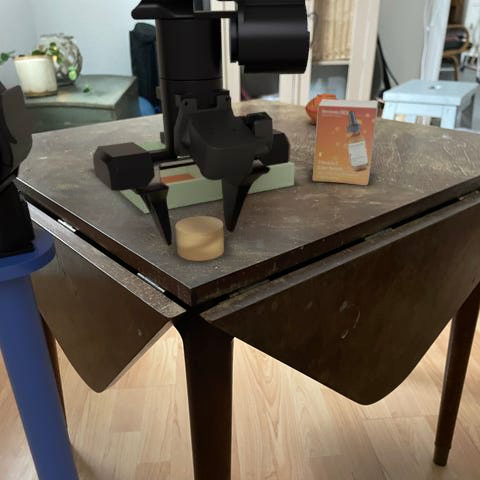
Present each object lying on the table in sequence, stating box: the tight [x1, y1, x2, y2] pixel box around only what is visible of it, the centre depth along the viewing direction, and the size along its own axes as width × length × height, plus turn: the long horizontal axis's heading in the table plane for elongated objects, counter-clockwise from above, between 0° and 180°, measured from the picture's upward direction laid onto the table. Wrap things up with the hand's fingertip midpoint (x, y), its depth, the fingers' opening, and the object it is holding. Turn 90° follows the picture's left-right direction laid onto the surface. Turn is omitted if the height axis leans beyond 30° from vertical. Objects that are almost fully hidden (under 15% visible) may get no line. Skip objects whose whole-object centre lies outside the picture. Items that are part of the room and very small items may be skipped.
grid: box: [91, 140, 296, 214], centre depth 80 cm, size 22×22×3 cm
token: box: [174, 215, 225, 262], centre depth 57 cm, size 5×5×3 cm
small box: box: [312, 99, 379, 186], centre depth 76 cm, size 8×6×10 cm
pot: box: [304, 93, 339, 125], centre depth 108 cm, size 8×8×7 cm
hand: (199, 237), depth 57 cm, fingers open, 7 cm apart
